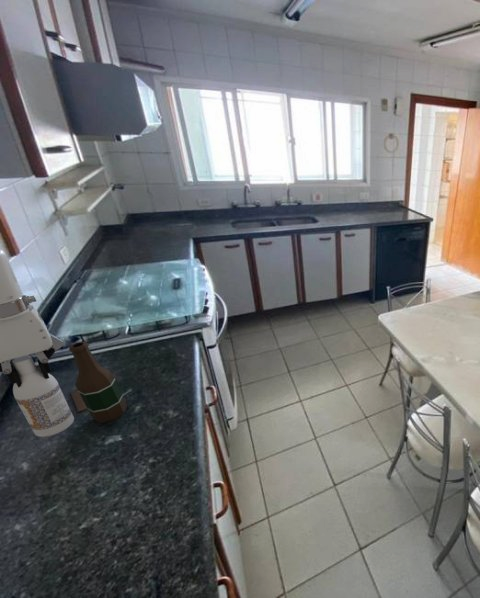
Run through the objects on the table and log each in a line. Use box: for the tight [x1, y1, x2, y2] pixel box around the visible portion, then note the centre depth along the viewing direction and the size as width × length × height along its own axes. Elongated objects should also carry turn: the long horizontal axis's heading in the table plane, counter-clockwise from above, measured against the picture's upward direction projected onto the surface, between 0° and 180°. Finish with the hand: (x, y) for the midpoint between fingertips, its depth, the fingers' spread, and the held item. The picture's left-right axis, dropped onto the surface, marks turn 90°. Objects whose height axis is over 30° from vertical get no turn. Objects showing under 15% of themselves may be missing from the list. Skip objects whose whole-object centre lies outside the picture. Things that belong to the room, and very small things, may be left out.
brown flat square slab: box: [70, 375, 117, 413], centre depth 102 cm, size 12×12×1 cm
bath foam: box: [11, 355, 75, 438], centre depth 76 cm, size 7×7×20 cm
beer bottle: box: [68, 341, 128, 424], centre depth 90 cm, size 8×8×24 cm
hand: (33, 379), depth 74 cm, fingers closed on bath foam, 3 cm apart
